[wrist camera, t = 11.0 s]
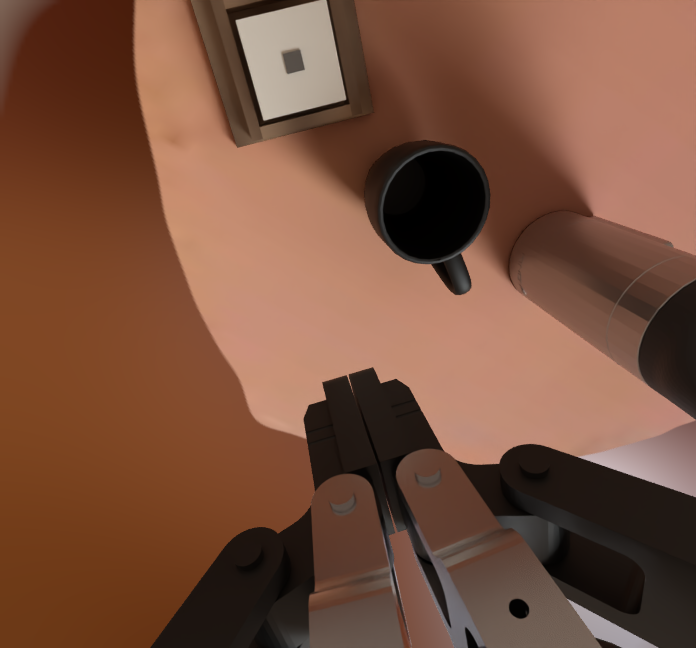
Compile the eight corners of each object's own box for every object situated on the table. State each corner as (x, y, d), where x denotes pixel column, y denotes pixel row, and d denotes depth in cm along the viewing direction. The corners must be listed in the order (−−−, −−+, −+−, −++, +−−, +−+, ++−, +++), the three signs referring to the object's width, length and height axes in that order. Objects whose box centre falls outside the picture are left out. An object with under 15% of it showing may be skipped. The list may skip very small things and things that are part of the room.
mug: (386, 281, 44) (419, 324, 35) (334, 161, 38) (358, 178, 30) (464, 242, 43) (515, 277, 35) (423, 116, 38) (473, 121, 29)
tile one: (320, 5, 32) (326, -2, 29) (340, 99, 35) (346, 99, 32) (236, 25, 31) (235, 19, 29) (263, 119, 34) (263, 120, 32)
